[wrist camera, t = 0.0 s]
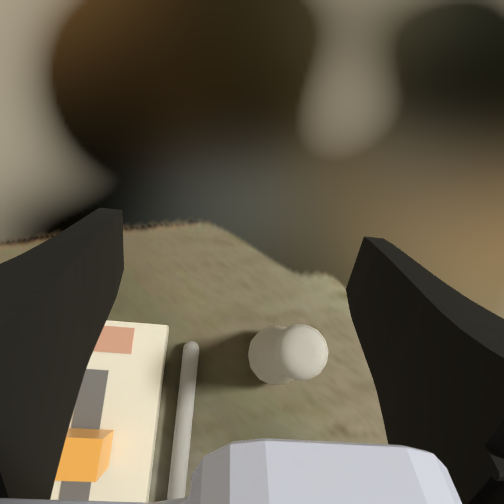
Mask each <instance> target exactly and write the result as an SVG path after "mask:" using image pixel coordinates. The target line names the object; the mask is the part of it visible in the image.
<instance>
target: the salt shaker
mask: <svg viewBox="0 0 504 504" xmlns="http://www.w3.org/2000/svg"><path fill="white" fill-rule="evenodd" d="M248 358H249V363H250V368H251V369H252V371H253V372H254V373H255V375H256V376H257V377H258V378H259V379H260V380H262V381H264V382H266V383H268V384H270V385H285V384H287V383H289V382H291V381H292V380H309V379H311V378H313V377H315V376H317V375H318V374H320V372H321V371H322V369H323V368H324V367H325V365H326V363H327V358H328V348H327V344H326V340H325V339H324V338H323V336H322V335H321V334H320V332H319V331H318V330H316V329H314V328H312V327H310V326H308V325H301V324H293V325H291V326H289V327H287V328H286V327H284V326H268V327H267V328H265V329H263V330H261V331H259V332H258V333H257V334H256V335H255V337H254V338H253V339H252V340H251V342H250V347H249V352H248Z"/></svg>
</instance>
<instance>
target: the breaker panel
mask: <svg viewBox="0 0 504 504" xmlns="http://www.w3.org/2000/svg"><path fill="white" fill-rule="evenodd" d="M168 333H169V327H168V326H167V325H157V324H144V323H131V322H119V321H106V323H105V325H104V327H103V330H102V332H101V334H100V337H99V339H98V341H97V344H96V346H95V348H94V351H93V353H92V355H91V358H90V360H89V363H88V366H87V368H86V371H85V374H84V377H83V381H82V384H81V387H80V391H79V394H78V397H77V401H76V404H75V407H74V411H73V415H72V418H71V422H70V425H69V428H83V429H103V430H114V433H113V440H112V447H111V453H110V460H109V467H108V469H107V470H106V471H105V472H104V473H103V474H102V476H101V477H100V478H99V479H98V480H97V482H78V481H55V482H54V486H53V490H52V494H51V498H50V500H77V501H110V502H143V503H148V500H149V492H150V483H151V475H152V467H153V458H154V450H155V442H156V433H157V425H158V417H159V408H160V400H161V391H162V383H163V375H164V366H165V358H166V350H167V341H168Z"/></svg>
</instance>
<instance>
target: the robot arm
mask: <svg viewBox="0 0 504 504" xmlns="http://www.w3.org/2000/svg"><path fill="white" fill-rule="evenodd" d="M123 270H124V256H123V222H122V210H114V209H105V208H99V209H97V210H96V211H94V212H92V213H91V214H89V215H88V216H86V217H85V218H83V219H82V220H80V221H78V222H77V223H76V224H74V225H72V226H70V227H69V228H67V229H66V230H64V231H62V232H61V233H59V234H58V235H56V236H54V237H52V238H51V239H49V240H47V241H45V242H43V243H42V244H40V245H38V246H36V247H34V248H32V249H31V250H29V251H27V252H25V253H23V254H21V255H19V256H17V257H15V258H13V259H10V260H8V261H6V262H3V263H1V264H0V504H504V319H503V318H501V317H499V316H497V315H496V314H494V313H492V312H490V311H488V310H487V309H485V308H483V307H482V306H480V305H478V304H476V303H475V302H473V301H471V300H470V299H468V298H467V297H465V296H463V295H462V294H461V293H459V292H458V291H456V290H455V289H453V288H452V287H450V286H449V285H447V284H446V283H444V282H443V281H441V280H440V279H439V278H437V277H436V276H434V275H433V274H432V273H431V272H429V271H428V270H426V269H425V268H424V267H422V266H421V265H420V264H419V263H417V262H416V261H414V260H413V259H412V258H411V257H409V256H408V255H407V254H405V253H404V252H403V251H401V250H400V249H398V248H397V247H395V246H394V245H393V244H391V243H390V242H388V241H386V240H385V239H383V238H374V237H364V238H363V241H362V244H361V247H360V250H359V253H358V256H357V259H356V262H355V264H354V268H353V270H352V273H351V276H350V279H349V282H348V285H347V288H346V292H347V298H348V304H349V309H350V313H351V318H352V321H353V324H354V327H355V329H356V332H357V335H358V338H359V341H360V344H361V346H362V349H363V352H364V355H365V358H366V360H367V363H368V366H369V369H370V372H371V374H372V377H373V380H374V384H375V387H376V390H377V394H378V399H379V403H380V407H381V411H382V416H383V420H384V425H385V430H386V435H387V440H388V444H368V443H348V442H328V441H307V440H287V439H267V438H262V439H252V440H243V441H233V442H231V443H229V444H227V445H225V446H222V447H220V448H218V449H216V450H214V451H212V452H210V453H208V454H207V455H205V456H204V457H203V458H202V460H201V461H200V463H199V464H198V466H197V468H196V469H195V471H194V472H193V474H192V478H191V486H190V494H189V496H188V497H185V498H179V499H172V500H165V501H159V502H152V503H143V502H110V501H77V500H50V498H51V494H52V490H53V486H54V482H55V478H56V474H57V470H58V466H59V462H60V459H61V455H62V451H63V447H64V443H65V439H66V436H67V432H68V429H69V425H70V422H71V418H72V415H73V411H74V407H75V404H76V401H77V397H78V394H79V391H80V387H81V384H82V381H83V377H84V374H85V371H86V368H87V366H88V363H89V360H90V358H91V355H92V353H93V351H94V348H95V346H96V344H97V341H98V339H99V337H100V334H101V332H102V330H103V327H104V325H105V323H106V320H107V318H108V316H109V313H110V311H111V308H112V306H113V304H114V301H115V299H116V296H117V293H118V289H119V285H120V282H121V278H122V274H123Z"/></svg>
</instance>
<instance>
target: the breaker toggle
mask: <svg viewBox="0 0 504 504" xmlns="http://www.w3.org/2000/svg"><path fill="white" fill-rule="evenodd" d="M113 433H114V430H103V429H83V428H69V429H68V432H67V436H66V439H65V443H64V447H63V451H62V455H61V459H60V462H59V466H58V470H57V474H56V478H55V481H78V482H97V480H98V479H99V478H100V477H101V476H102V474H103V473H104V472H105V471H106V470H107V469H108V467H109V460H110V453H111V447H112V440H113Z"/></svg>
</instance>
